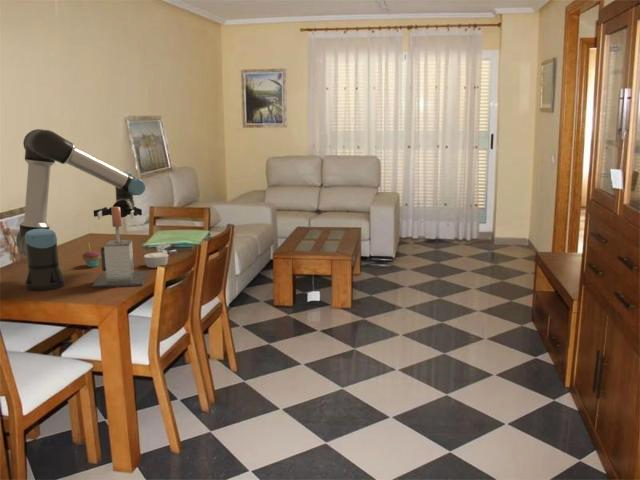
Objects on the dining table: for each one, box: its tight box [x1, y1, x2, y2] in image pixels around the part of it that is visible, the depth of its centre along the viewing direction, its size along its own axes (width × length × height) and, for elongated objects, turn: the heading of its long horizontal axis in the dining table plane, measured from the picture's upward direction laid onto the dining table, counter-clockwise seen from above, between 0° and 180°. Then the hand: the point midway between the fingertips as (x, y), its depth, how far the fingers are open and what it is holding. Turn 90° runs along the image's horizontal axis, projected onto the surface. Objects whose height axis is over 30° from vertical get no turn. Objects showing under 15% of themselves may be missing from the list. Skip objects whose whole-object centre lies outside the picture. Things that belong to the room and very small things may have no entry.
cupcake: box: [81, 242, 102, 268], centre depth 288 cm, size 9×8×12 cm
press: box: [91, 239, 148, 289], centre depth 261 cm, size 20×20×17 cm
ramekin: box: [143, 252, 169, 269], centre depth 289 cm, size 11×11×5 cm
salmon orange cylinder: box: [110, 206, 123, 243], centre depth 259 cm, size 4×4×24 cm
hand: (115, 215), depth 254 cm, fingers open, 12 cm apart
